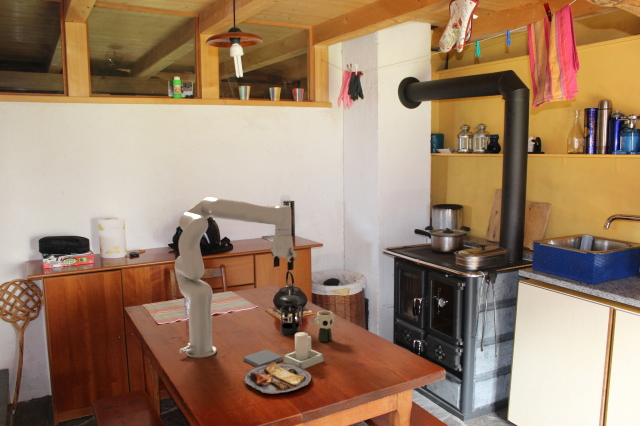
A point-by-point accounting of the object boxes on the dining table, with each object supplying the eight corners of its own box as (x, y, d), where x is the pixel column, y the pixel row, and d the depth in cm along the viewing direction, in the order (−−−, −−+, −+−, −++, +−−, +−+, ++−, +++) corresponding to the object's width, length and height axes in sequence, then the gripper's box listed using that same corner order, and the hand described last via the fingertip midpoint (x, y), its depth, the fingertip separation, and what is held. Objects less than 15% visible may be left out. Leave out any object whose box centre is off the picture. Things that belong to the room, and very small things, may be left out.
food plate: (232, 380, 210) (232, 371, 209) (279, 363, 226) (279, 355, 225) (274, 404, 192) (275, 395, 192) (322, 384, 208) (322, 375, 208)
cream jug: (301, 366, 222) (301, 338, 221) (292, 362, 226) (292, 334, 225) (314, 361, 228) (314, 333, 226) (305, 357, 232) (305, 330, 230)
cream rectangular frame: (300, 370, 219) (300, 362, 219) (283, 362, 226) (283, 355, 226) (323, 361, 227) (323, 354, 227) (306, 354, 235) (306, 347, 235)
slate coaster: (259, 368, 221) (259, 364, 221) (243, 360, 229) (243, 357, 228) (282, 359, 229) (282, 356, 229) (266, 352, 237) (266, 349, 237)
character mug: (318, 345, 245) (318, 317, 243) (310, 340, 251) (310, 312, 249) (339, 340, 250) (339, 313, 249) (330, 335, 256) (330, 308, 255)
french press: (283, 337, 255) (283, 289, 251) (275, 331, 263) (275, 284, 260) (306, 333, 260) (306, 285, 257) (298, 327, 268) (297, 281, 265)
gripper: (265, 230, 259) (265, 266, 261) (289, 235, 247) (289, 272, 249) (277, 229, 264) (277, 264, 266) (301, 233, 252) (302, 270, 254)
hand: (283, 268), depth 258 cm, fingers open, 9 cm apart
